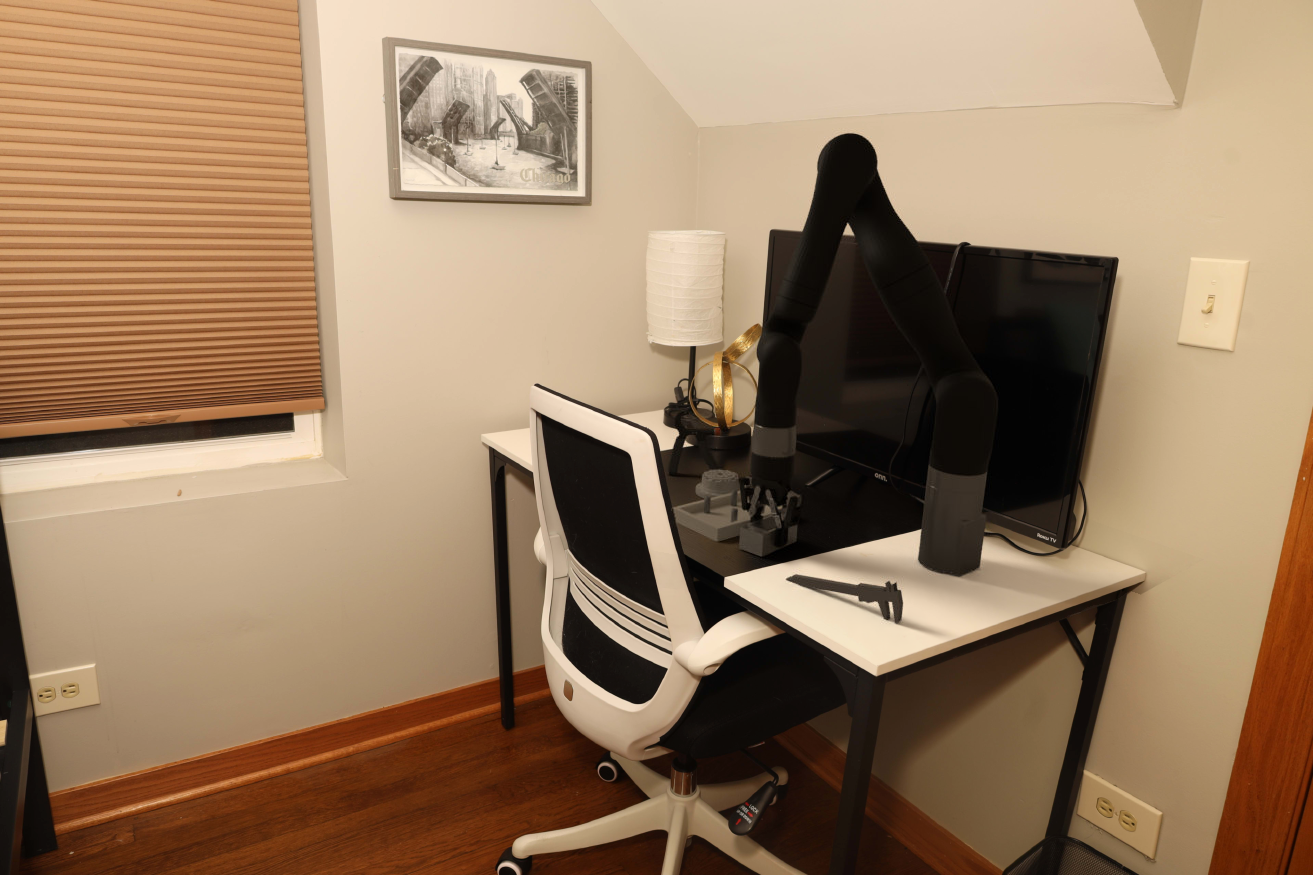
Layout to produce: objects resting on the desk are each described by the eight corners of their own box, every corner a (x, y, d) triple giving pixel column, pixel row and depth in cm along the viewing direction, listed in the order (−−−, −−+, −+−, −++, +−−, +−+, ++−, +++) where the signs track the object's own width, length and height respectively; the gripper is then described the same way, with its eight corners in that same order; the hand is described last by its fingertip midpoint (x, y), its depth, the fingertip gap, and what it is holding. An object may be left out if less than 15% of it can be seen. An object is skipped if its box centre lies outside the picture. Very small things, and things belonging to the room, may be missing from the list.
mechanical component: (704, 504, 175) (750, 500, 177) (704, 483, 174) (751, 480, 176) (689, 488, 184) (734, 485, 187) (690, 468, 183) (734, 465, 185)
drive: (796, 541, 155) (797, 519, 154) (761, 556, 149) (763, 534, 147) (773, 533, 159) (774, 512, 158) (739, 548, 152) (740, 526, 151)
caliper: (901, 624, 127) (905, 584, 126) (897, 626, 127) (901, 586, 125) (789, 579, 141) (791, 543, 140) (785, 581, 141) (787, 545, 139)
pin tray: (794, 519, 167) (796, 499, 166) (717, 541, 155) (718, 520, 154) (747, 500, 177) (748, 481, 176) (671, 520, 165) (672, 500, 164)
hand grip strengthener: (723, 481, 189) (726, 414, 184) (667, 476, 191) (668, 409, 187) (725, 477, 191) (728, 411, 187) (669, 472, 193) (670, 407, 189)
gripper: (819, 455, 146) (812, 549, 150) (759, 436, 157) (754, 524, 161) (788, 463, 141) (782, 559, 146) (728, 442, 152) (724, 533, 157)
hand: (768, 540), depth 153 cm, fingers closed on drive, 5 cm apart
